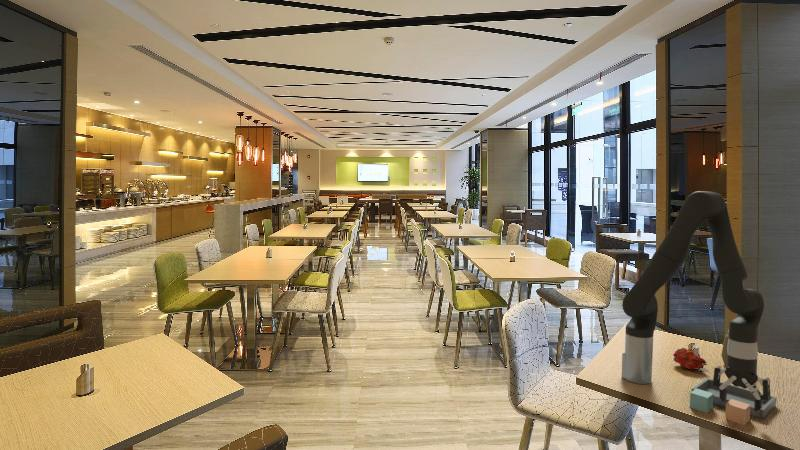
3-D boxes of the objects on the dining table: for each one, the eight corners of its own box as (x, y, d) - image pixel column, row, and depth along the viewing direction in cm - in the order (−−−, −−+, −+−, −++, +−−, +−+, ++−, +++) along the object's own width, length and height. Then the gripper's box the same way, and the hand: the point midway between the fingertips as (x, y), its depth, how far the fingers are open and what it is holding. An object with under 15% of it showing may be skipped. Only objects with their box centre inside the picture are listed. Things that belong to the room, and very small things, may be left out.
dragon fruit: (671, 366, 193) (703, 380, 184) (665, 359, 188) (698, 373, 179) (680, 348, 195) (712, 361, 186) (675, 340, 190) (708, 353, 180)
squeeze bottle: (735, 362, 194) (737, 318, 192) (750, 369, 185) (753, 324, 184) (716, 362, 193) (718, 319, 192) (730, 370, 185) (733, 325, 184)
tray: (691, 397, 162) (691, 388, 162) (706, 386, 171) (707, 378, 171) (762, 419, 147) (763, 410, 146) (775, 406, 155) (776, 397, 155)
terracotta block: (725, 419, 148) (725, 403, 147) (730, 414, 151) (731, 398, 150) (744, 425, 144) (745, 409, 143) (749, 420, 147) (750, 404, 146)
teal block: (689, 407, 155) (690, 392, 155) (695, 402, 158) (696, 388, 158) (706, 413, 151) (707, 398, 151) (712, 408, 155) (713, 393, 154)
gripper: (711, 351, 148) (709, 401, 150) (767, 363, 137) (764, 417, 139) (719, 345, 153) (717, 394, 154) (774, 357, 142) (772, 410, 143)
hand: (740, 405), depth 146 cm, fingers open, 8 cm apart
